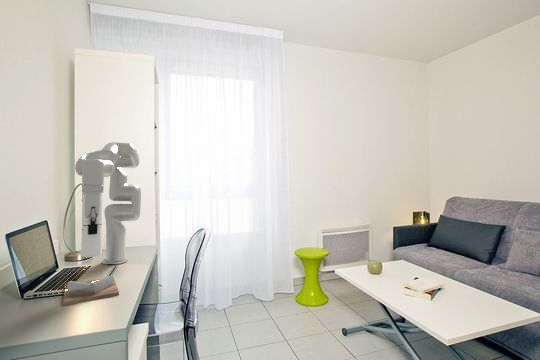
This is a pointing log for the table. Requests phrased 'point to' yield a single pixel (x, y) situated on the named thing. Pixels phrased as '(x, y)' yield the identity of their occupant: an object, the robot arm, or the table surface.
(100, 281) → the v cradle
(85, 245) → the cylindrical container
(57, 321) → the table surface
